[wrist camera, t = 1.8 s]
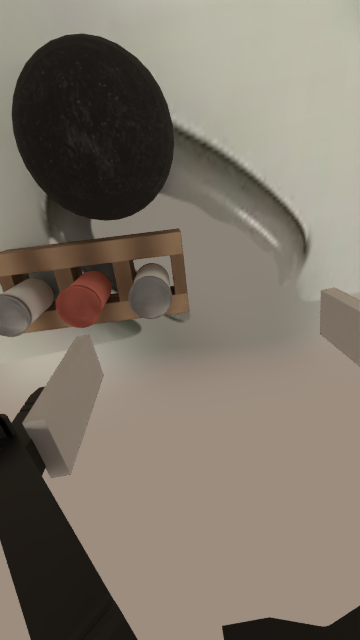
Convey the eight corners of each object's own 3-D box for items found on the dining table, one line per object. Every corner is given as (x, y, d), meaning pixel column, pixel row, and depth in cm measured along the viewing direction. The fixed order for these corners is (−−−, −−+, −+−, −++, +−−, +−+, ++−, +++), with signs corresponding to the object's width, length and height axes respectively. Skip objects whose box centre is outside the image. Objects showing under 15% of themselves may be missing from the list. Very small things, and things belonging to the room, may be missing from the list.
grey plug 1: (24, 313, 34) (-8, 339, 28) (12, 279, 32) (-25, 299, 26) (58, 308, 34) (35, 333, 28) (48, 275, 32) (20, 293, 26)
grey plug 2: (137, 298, 34) (132, 321, 28) (131, 264, 32) (124, 280, 26) (172, 294, 34) (174, 315, 28) (167, 260, 33) (169, 274, 26)
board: (32, 321, 39) (19, 333, 36) (7, 250, 35) (-11, 255, 32) (186, 301, 40) (189, 311, 36) (178, 228, 36) (180, 231, 32)
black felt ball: (160, 226, 36) (159, 241, 22) (52, 203, 34) (-22, 204, 20) (181, 102, 31) (198, 22, 17) (57, 68, 29) (-38, -53, 15)
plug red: (81, 305, 34) (62, 330, 28) (72, 272, 32) (50, 289, 26) (115, 301, 34) (105, 324, 28) (108, 267, 32) (95, 284, 26)
